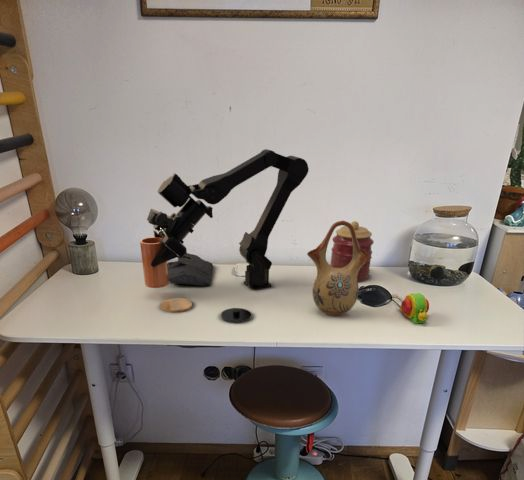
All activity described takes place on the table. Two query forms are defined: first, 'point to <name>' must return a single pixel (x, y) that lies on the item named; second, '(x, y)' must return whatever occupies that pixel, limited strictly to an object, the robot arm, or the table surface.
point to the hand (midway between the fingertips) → (149, 261)
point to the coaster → (176, 305)
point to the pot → (152, 275)
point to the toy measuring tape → (413, 307)
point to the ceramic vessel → (337, 276)
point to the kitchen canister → (351, 248)
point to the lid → (236, 315)
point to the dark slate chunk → (190, 271)
